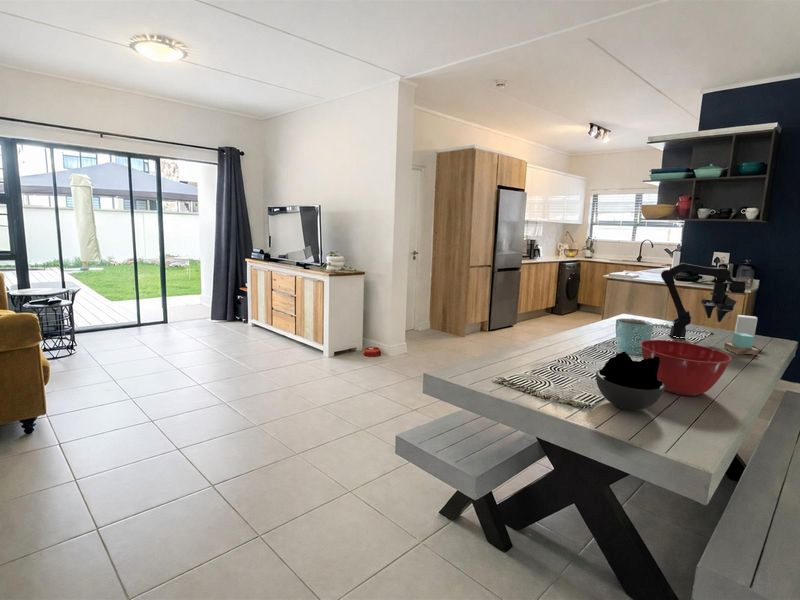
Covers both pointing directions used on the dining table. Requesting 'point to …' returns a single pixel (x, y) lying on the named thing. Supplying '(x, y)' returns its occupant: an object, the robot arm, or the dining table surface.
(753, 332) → the skincare box
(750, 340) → the teal block
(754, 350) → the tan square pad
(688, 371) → the mixing bowl
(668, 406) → the dining table surface
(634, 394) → the coal bowl
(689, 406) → the dining table surface
